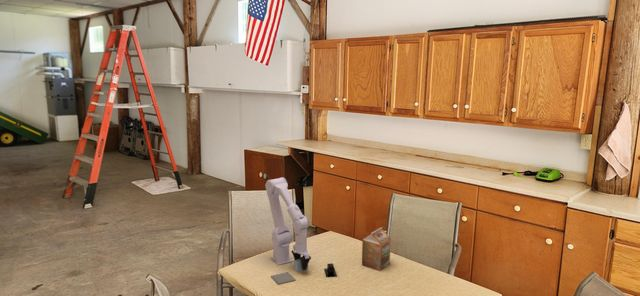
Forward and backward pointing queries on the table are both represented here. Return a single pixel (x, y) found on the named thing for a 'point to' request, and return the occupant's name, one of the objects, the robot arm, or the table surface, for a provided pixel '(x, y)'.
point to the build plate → (330, 271)
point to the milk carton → (376, 250)
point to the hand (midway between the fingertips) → (301, 266)
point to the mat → (283, 278)
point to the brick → (298, 266)
